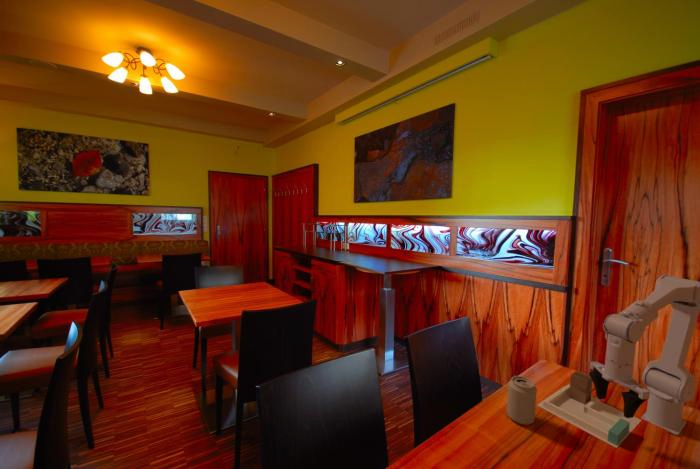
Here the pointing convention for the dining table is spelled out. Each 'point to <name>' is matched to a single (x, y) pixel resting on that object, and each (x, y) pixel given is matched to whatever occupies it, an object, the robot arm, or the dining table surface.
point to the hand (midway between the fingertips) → (614, 407)
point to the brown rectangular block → (580, 387)
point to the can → (521, 400)
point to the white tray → (591, 416)
